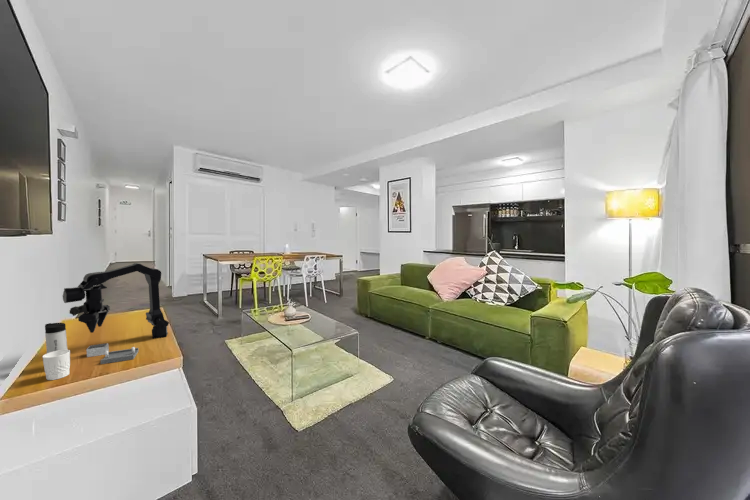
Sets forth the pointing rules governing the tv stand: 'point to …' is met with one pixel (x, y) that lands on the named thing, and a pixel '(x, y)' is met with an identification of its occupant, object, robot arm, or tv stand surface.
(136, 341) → the tv stand surface
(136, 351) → the tray
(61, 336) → the travel mug
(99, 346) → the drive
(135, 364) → the tv stand surface
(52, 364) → the white cup
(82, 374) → the tv stand surface
